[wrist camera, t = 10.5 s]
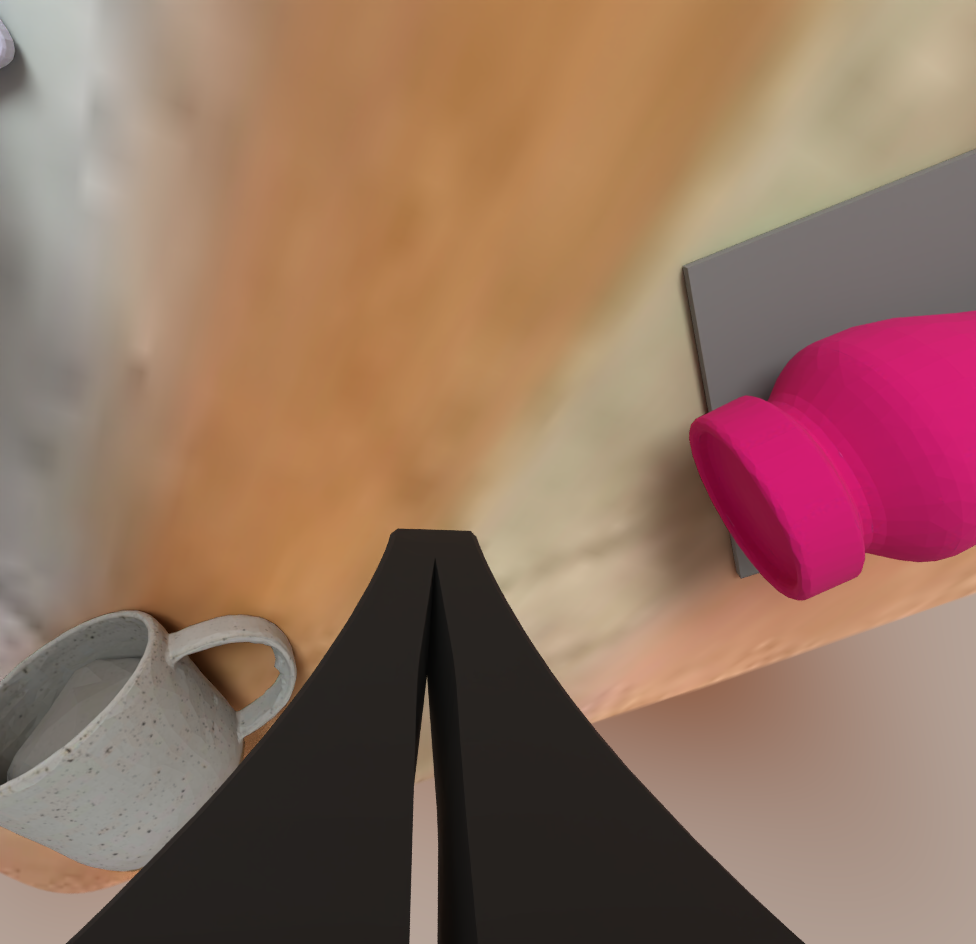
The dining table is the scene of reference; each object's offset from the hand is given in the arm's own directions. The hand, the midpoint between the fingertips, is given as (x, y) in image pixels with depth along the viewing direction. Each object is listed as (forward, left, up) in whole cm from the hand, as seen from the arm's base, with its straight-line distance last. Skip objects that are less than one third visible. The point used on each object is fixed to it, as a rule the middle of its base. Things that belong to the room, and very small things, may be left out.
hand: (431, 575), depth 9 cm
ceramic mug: (-16, -8, -11) cm, 21 cm away
